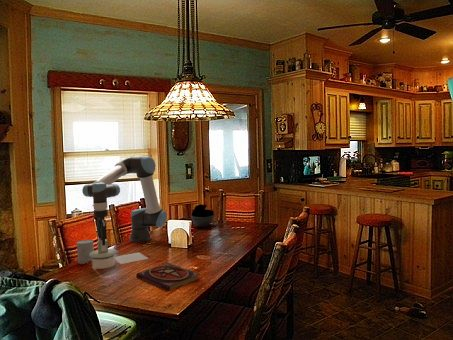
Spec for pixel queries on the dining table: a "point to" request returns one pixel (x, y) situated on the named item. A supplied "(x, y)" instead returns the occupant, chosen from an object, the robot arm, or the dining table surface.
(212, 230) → the dining table surface
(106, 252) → the sage lid
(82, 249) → the grey cylindrical piece
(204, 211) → the bowl of black rocks
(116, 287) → the dining table surface
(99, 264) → the ceramic bowl
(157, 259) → the dining table surface
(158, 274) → the book
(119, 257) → the grey mat
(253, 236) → the dining table surface
